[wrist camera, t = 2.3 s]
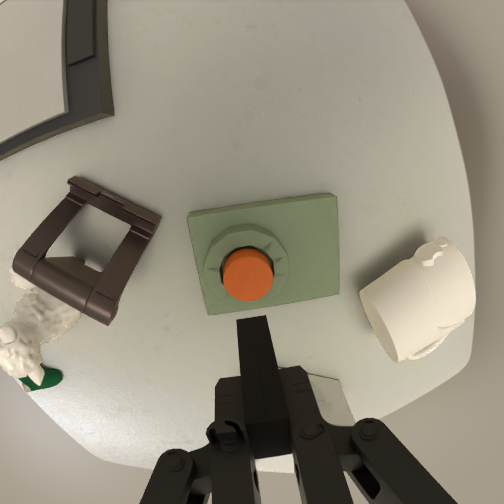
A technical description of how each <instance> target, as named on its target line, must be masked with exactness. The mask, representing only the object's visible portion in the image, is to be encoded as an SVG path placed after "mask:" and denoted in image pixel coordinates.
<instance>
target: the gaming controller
mask: <svg viewBox="0 0 504 504" xmlns="http://www.w3.org/2000/svg"><path fill="white" fill-rule="evenodd" d="M44 373H45V374H44V377H43V380H42V383H41V385H40V386H38V385H37V384H36V383H34V382H33V380H32V379H31V378H30V377H29V376H28V375H27V376H26V377H22V378H19V380H20V381H22V382H23V383H22V385H23V387H24V390H25V391H26V392H30V391H34V390H39V389H45V388H50V387H53V386H55V385H57V384H58V383H60V382H61V380H62V378H63V377H62V375H61V373H60V372H59V371H58V370H44Z"/></svg>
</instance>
